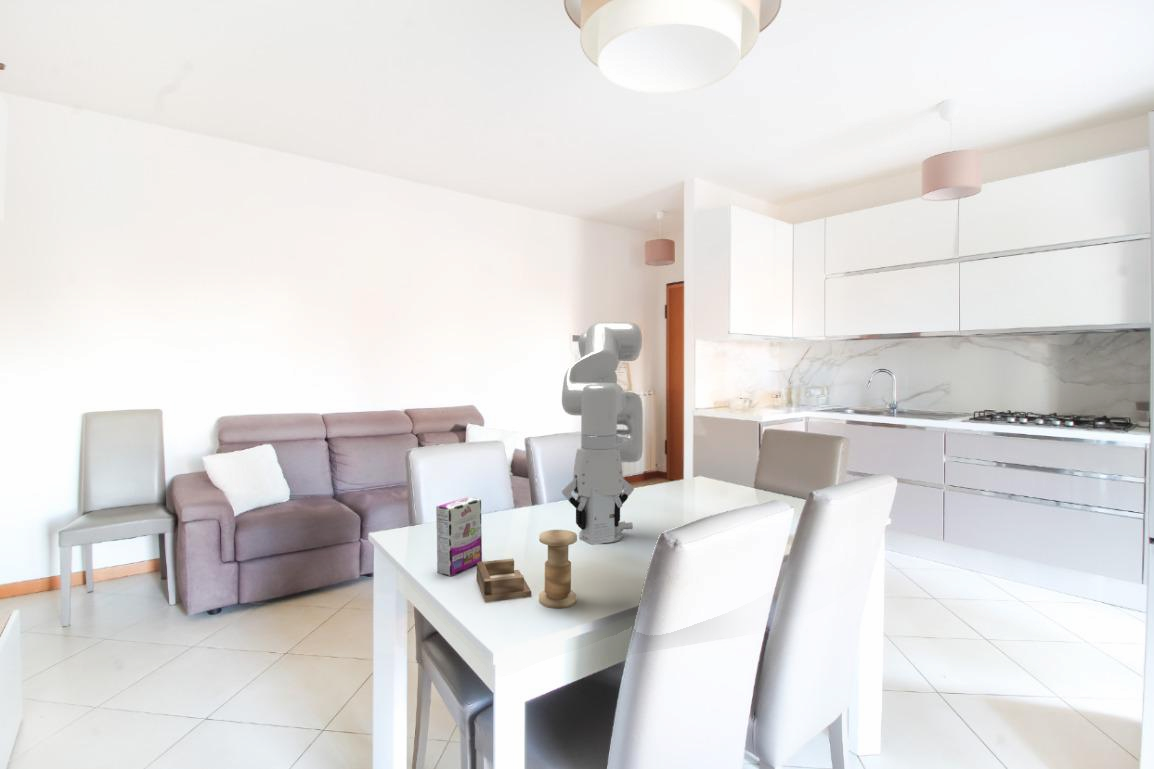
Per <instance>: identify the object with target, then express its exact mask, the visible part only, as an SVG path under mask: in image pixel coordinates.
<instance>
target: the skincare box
mask: <svg viewBox="0 0 1154 769" xmlns="http://www.w3.org/2000/svg"><path fill="white" fill-rule="evenodd" d="M584 510H585V511H586V528H585V529H584V530H582V529H581V530H582V533H581V538H580V539H581V541H582V542H584V543H585V544H588V545H590V546H594V545H600V544H608V543H607V542H611V543H613V542H612V541H614V533H615V500H614V498H613V496H609V497H607V496H600V495H599V493H598V490H597V488H592V494H591V497H590V498H588V499H587V502H586V504H585V506H584Z"/></svg>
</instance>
